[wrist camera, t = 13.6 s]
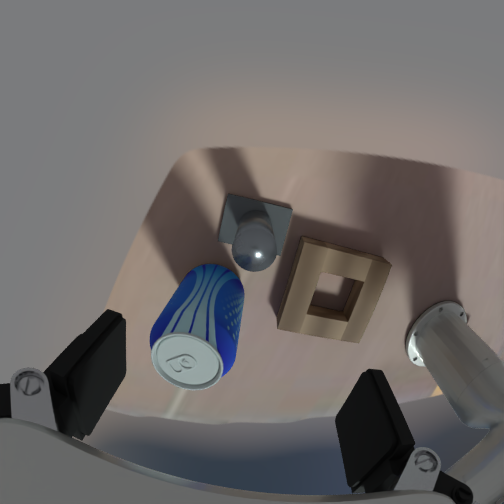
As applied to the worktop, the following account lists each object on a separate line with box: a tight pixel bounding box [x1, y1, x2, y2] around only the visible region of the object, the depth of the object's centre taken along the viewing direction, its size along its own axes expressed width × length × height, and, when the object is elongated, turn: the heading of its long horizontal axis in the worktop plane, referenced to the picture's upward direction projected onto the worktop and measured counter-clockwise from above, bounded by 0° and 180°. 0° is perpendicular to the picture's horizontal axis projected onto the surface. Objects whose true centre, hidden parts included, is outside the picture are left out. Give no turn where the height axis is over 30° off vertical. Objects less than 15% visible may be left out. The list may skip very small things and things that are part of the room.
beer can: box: [150, 264, 244, 390], centre depth 31 cm, size 8×8×16 cm
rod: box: [232, 210, 277, 272], centre depth 30 cm, size 4×4×10 cm
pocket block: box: [277, 236, 392, 343], centre depth 36 cm, size 12×12×3 cm
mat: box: [218, 194, 293, 256], centre depth 35 cm, size 8×6×1 cm
